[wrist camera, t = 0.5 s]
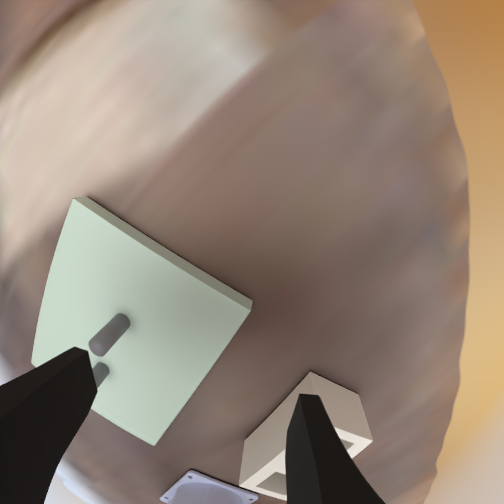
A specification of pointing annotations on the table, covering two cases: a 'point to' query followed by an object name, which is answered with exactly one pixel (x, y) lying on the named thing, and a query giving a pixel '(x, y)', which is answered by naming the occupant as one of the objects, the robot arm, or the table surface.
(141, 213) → the table surface
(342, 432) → the beige hollow block
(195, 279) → the pin plate
